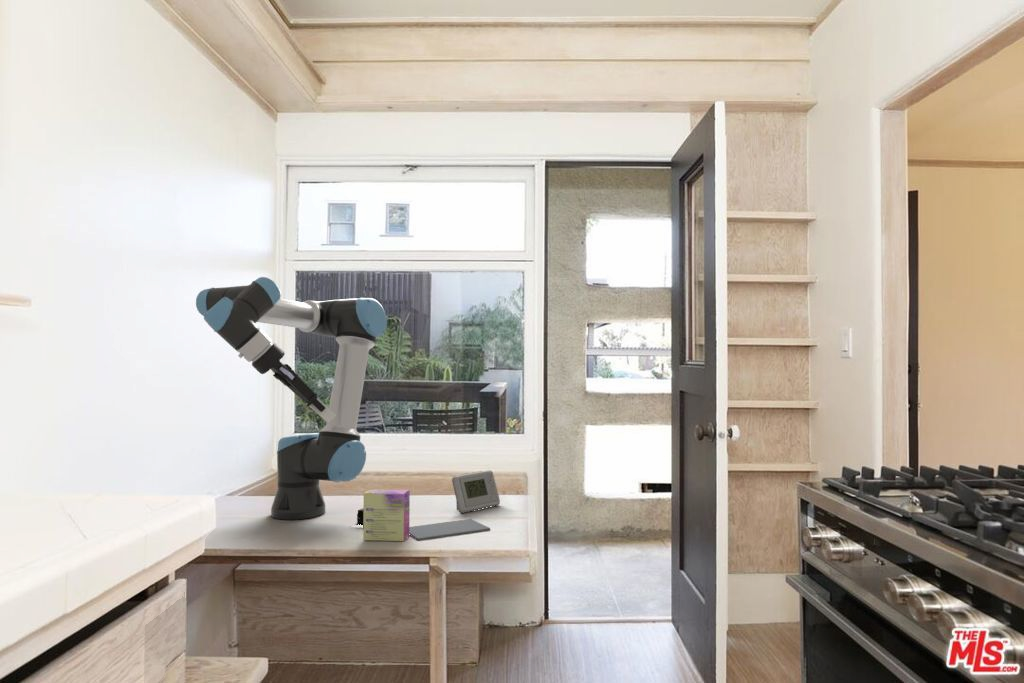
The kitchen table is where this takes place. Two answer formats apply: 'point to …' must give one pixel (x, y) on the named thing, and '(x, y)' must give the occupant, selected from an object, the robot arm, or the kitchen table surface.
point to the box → (386, 515)
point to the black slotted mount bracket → (360, 517)
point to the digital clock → (475, 491)
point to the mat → (446, 529)
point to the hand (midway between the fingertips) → (331, 418)
